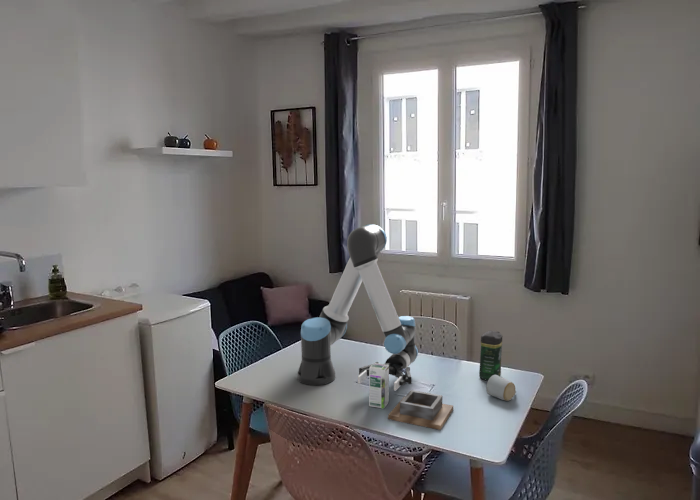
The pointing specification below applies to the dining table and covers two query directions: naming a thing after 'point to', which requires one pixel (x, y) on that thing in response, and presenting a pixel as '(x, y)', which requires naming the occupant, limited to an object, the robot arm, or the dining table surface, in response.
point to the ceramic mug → (500, 388)
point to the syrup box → (378, 385)
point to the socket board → (422, 410)
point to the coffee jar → (490, 354)
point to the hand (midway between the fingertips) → (376, 383)
